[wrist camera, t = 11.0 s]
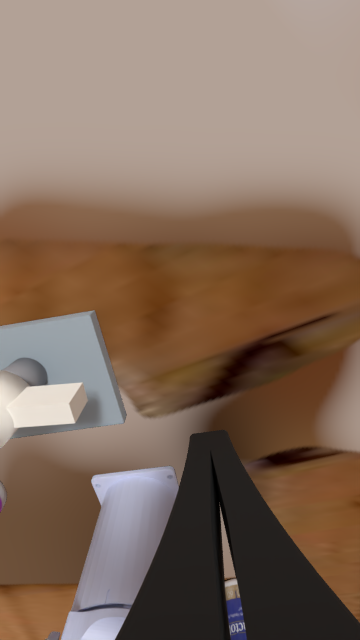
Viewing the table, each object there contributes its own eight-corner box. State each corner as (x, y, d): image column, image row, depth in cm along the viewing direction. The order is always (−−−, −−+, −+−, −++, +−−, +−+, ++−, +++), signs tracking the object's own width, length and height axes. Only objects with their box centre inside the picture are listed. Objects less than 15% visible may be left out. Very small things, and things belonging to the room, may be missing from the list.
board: (126, 414, 21) (106, 481, 15) (-4, 432, 22) (-68, 502, 16) (94, 310, 18) (54, 346, 12) (-57, 335, 19) (-160, 380, 13)
